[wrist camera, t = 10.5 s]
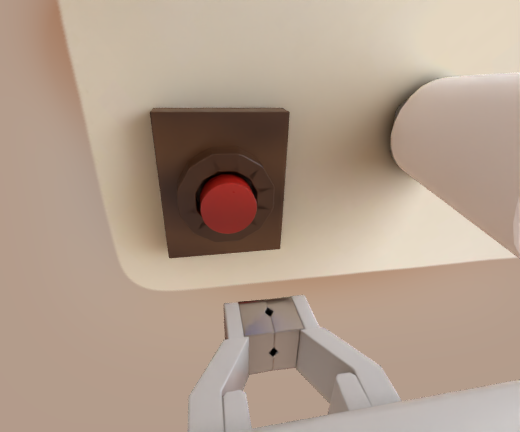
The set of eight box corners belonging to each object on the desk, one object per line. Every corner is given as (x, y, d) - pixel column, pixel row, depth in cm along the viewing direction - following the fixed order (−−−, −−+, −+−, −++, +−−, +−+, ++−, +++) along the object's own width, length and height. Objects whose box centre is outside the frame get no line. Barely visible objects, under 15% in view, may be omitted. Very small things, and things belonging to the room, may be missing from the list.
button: (198, 174, 20) (198, 184, 18) (252, 172, 20) (257, 181, 19) (201, 223, 21) (202, 236, 20) (251, 220, 22) (256, 232, 21)
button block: (152, 107, 20) (145, 116, 17) (283, 108, 22) (297, 116, 19) (170, 246, 25) (167, 272, 22) (275, 238, 27) (286, 261, 24)
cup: (365, 191, 27) (488, 287, 15) (378, 65, 22) (568, 73, 11) (466, 176, 28) (646, 255, 17) (499, 54, 23) (778, 52, 12)
